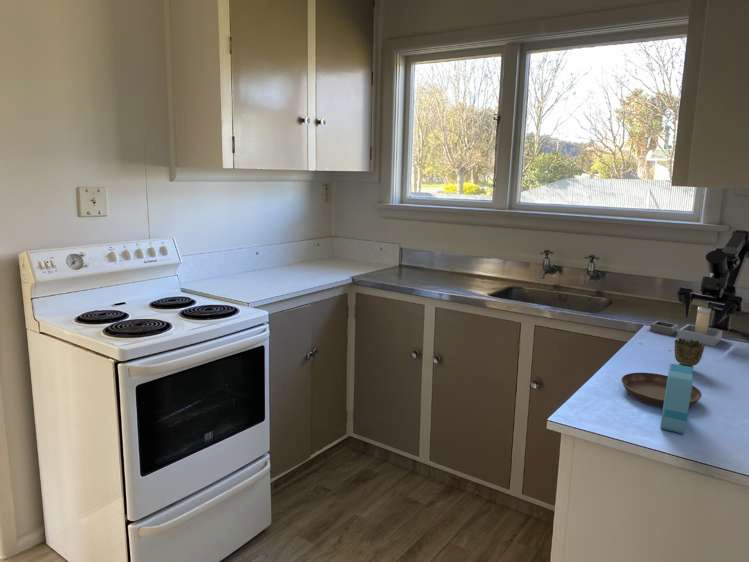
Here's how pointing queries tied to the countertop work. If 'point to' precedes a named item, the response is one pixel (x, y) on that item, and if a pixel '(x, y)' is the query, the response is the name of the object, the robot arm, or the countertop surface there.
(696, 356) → the cup
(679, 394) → the data package
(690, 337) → the tray
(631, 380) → the plant saucer
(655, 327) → the tray
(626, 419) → the countertop surface
